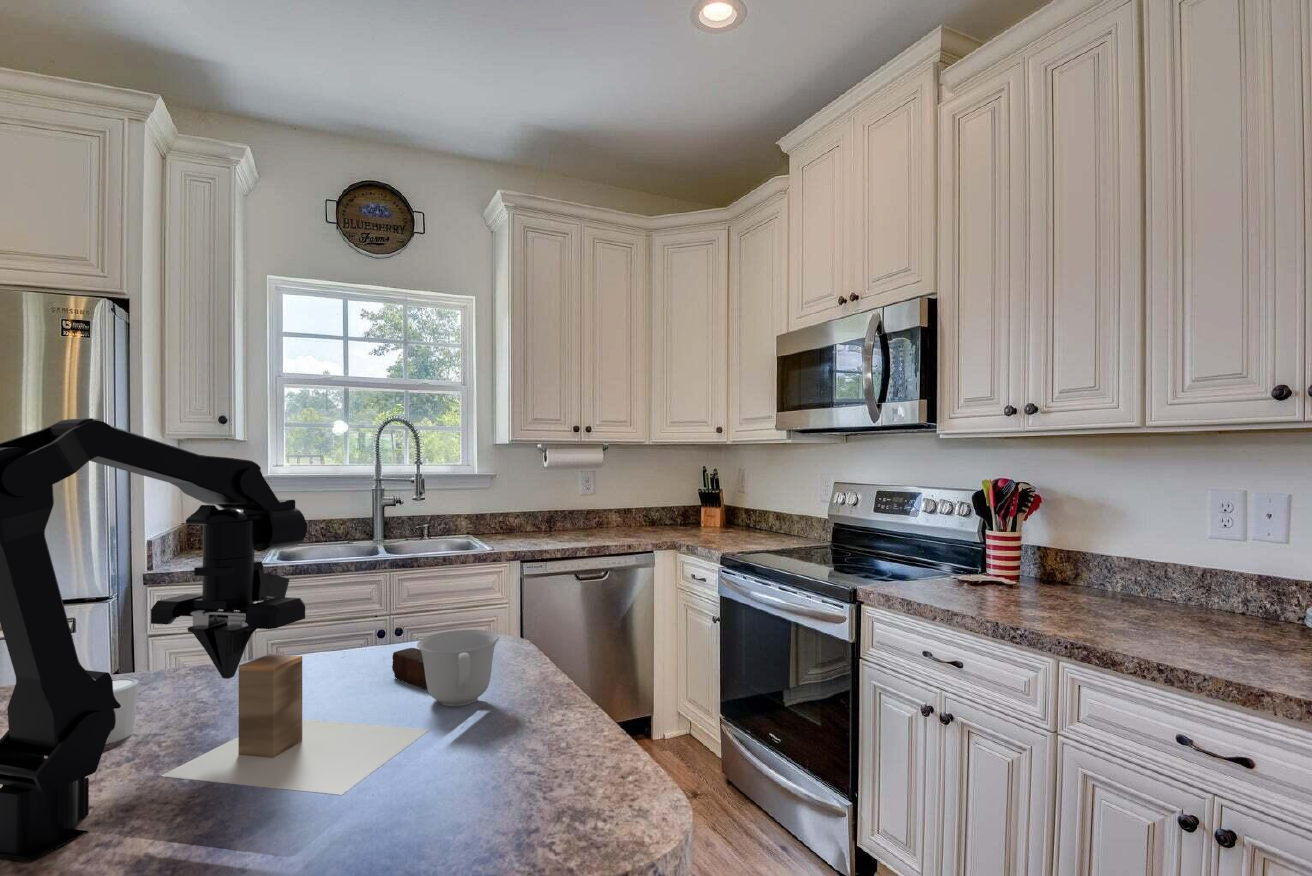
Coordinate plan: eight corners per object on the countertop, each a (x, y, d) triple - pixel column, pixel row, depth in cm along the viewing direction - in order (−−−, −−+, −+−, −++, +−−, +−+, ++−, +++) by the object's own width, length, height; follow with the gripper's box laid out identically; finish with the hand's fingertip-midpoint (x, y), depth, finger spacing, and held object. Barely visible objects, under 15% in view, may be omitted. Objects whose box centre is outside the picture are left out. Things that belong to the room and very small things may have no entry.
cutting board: (341, 804, 74) (341, 794, 74) (160, 784, 79) (160, 776, 79) (430, 736, 92) (430, 729, 92) (277, 724, 97) (277, 717, 97)
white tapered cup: (102, 749, 89) (103, 695, 89) (60, 746, 90) (61, 692, 90) (151, 729, 96) (151, 678, 96) (111, 725, 97) (111, 676, 97)
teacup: (420, 734, 92) (419, 660, 93) (415, 698, 106) (414, 634, 106) (509, 720, 97) (508, 649, 97) (493, 688, 111) (493, 626, 111)
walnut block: (273, 758, 83) (273, 667, 84) (238, 754, 84) (238, 665, 85) (302, 741, 88) (302, 655, 89) (269, 738, 89) (269, 654, 90)
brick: (391, 679, 116) (391, 651, 116) (412, 673, 119) (412, 646, 120) (427, 692, 110) (427, 663, 110) (448, 685, 113) (448, 657, 113)
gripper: (333, 549, 94) (333, 662, 94) (220, 547, 98) (219, 656, 98) (272, 561, 83) (272, 690, 83) (147, 558, 87) (146, 681, 87)
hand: (228, 677), depth 88 cm, fingers closed
